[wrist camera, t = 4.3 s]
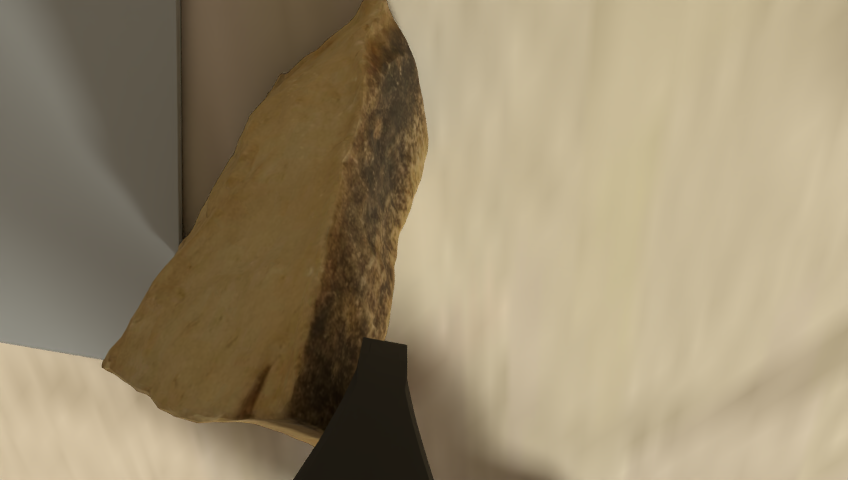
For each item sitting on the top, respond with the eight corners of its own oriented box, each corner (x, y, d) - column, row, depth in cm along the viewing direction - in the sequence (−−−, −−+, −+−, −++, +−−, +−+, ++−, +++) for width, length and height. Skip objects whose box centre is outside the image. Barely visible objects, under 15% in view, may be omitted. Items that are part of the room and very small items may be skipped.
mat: (176, -569, 11) (169, -581, 10) (183, 367, 22) (180, 372, 22) (-338, -722, 10) (-359, -740, 10) (-54, 327, 22) (-59, 332, 21)
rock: (202, 402, 20) (475, 405, 16) (-100, 451, 12) (300, 478, 8) (211, 110, 21) (457, 53, 18) (-45, -15, 14) (300, -165, 10)
